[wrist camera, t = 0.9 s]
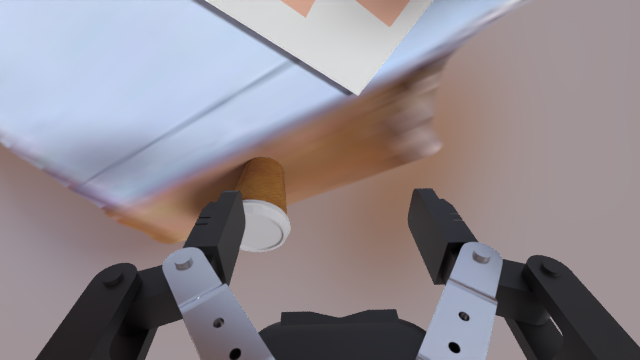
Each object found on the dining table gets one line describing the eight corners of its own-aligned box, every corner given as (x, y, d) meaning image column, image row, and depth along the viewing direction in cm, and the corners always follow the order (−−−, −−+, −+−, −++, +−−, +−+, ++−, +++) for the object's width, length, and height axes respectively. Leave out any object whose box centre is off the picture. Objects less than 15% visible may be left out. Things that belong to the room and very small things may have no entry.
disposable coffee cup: (252, 138, 41) (236, 200, 33) (305, 167, 46) (304, 229, 37) (223, 176, 46) (203, 239, 38) (273, 199, 51) (266, 261, 42)
